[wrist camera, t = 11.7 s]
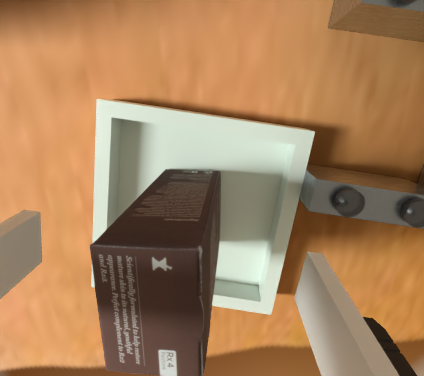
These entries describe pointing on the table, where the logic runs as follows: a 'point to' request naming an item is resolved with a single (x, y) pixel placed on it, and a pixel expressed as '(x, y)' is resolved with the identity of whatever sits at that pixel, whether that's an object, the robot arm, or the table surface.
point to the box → (160, 276)
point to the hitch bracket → (360, 181)
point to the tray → (230, 184)
